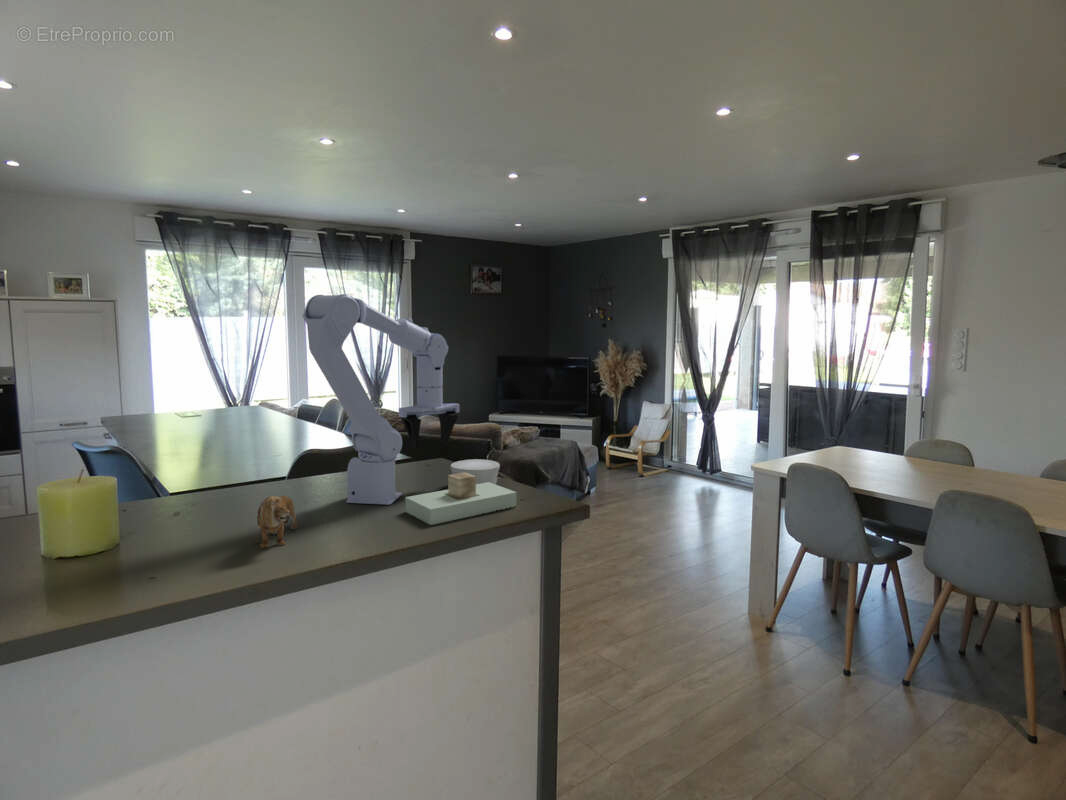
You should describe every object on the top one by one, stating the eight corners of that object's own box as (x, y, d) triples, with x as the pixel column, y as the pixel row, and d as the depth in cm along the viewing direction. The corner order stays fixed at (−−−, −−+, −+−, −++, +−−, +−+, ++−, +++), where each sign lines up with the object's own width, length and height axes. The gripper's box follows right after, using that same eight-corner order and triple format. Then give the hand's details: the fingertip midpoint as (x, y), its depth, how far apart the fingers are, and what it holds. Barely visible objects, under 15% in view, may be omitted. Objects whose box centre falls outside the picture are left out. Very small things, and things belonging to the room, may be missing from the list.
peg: (458, 513, 123) (458, 479, 122) (448, 508, 126) (448, 475, 125) (475, 510, 125) (475, 476, 125) (465, 505, 128) (465, 472, 128)
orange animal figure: (290, 552, 101) (288, 499, 100) (255, 555, 100) (252, 501, 99) (299, 524, 115) (297, 476, 114) (268, 526, 114) (266, 478, 113)
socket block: (430, 525, 116) (430, 509, 115) (405, 511, 123) (405, 497, 123) (516, 506, 128) (516, 492, 128) (488, 495, 136) (488, 482, 135)
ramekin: (445, 482, 147) (445, 460, 146) (490, 478, 151) (490, 457, 150) (458, 495, 136) (458, 471, 136) (506, 490, 141) (506, 467, 140)
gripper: (409, 390, 132) (409, 452, 134) (466, 386, 141) (466, 445, 143) (394, 387, 138) (394, 447, 139) (450, 383, 147) (450, 440, 148)
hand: (430, 446), depth 142 cm, fingers open, 7 cm apart
